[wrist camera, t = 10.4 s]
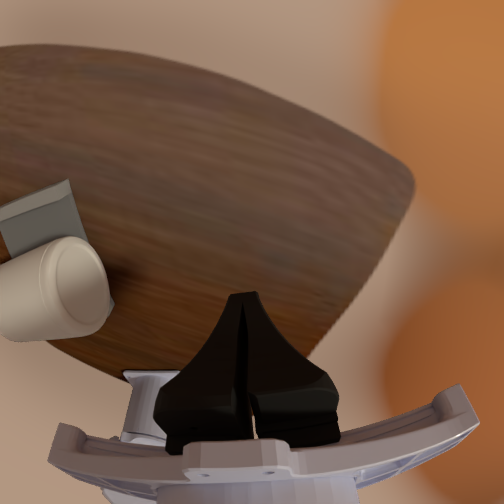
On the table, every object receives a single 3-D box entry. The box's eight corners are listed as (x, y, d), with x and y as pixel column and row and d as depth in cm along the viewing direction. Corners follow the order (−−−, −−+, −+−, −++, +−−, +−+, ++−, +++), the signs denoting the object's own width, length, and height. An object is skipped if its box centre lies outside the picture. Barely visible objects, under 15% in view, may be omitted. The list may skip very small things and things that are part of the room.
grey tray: (114, 304, 25) (108, 317, 23) (41, 308, 25) (33, 318, 23) (68, 178, 19) (55, 185, 17) (-4, 208, 19) (-15, 215, 17)
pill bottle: (117, 269, 24) (28, 293, 25) (67, 213, 17) (-16, 255, 19) (108, 350, 19) (16, 353, 20) (37, 306, 13) (-37, 321, 14)
